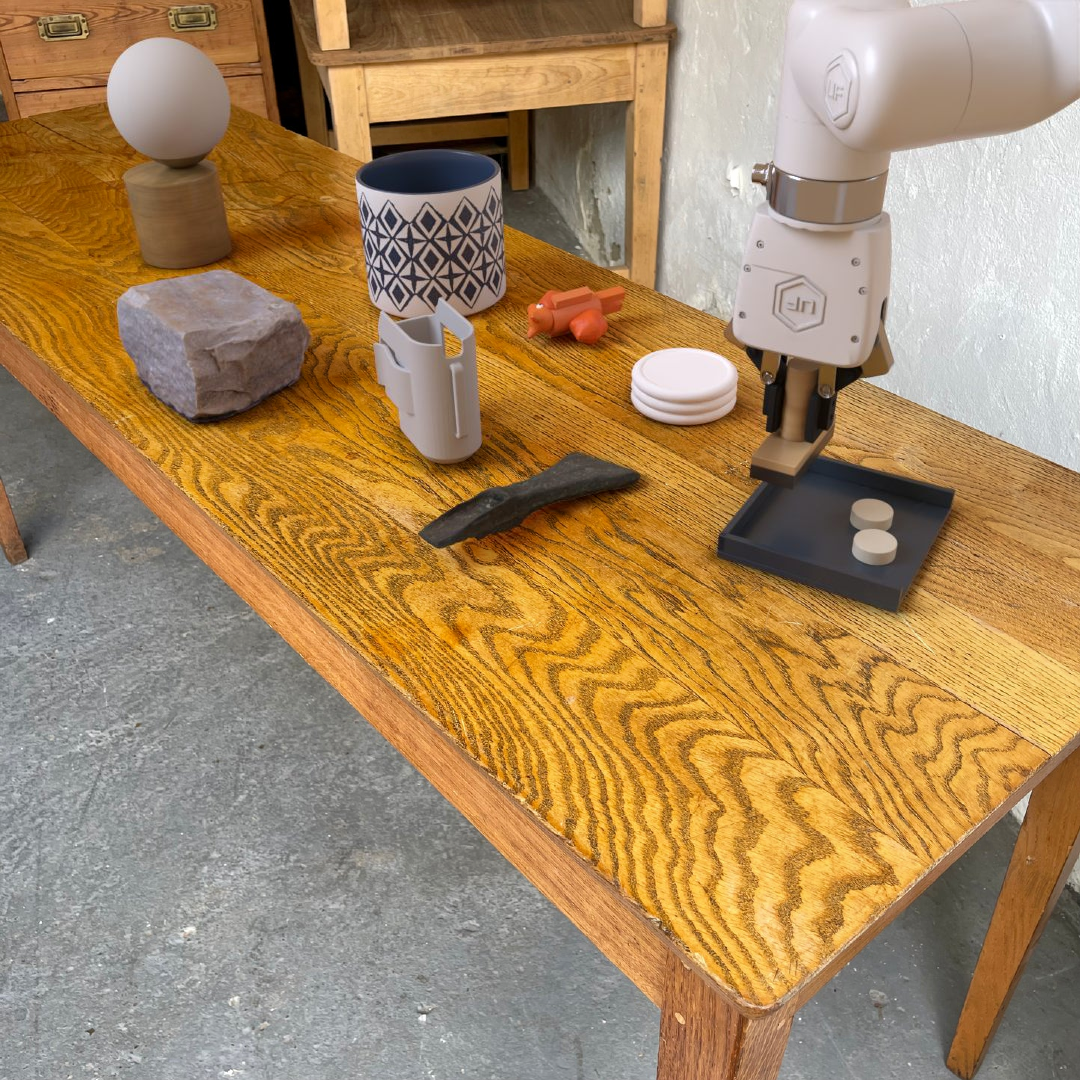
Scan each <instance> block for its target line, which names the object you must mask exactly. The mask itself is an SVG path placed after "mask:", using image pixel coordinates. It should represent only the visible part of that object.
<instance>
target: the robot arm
mask: <svg viewBox="0 0 1080 1080" xmlns="http://www.w3.org/2000/svg"><path fill="white" fill-rule="evenodd" d="M783 43H784V44H783V54H782V62H781V63H782V64H781V75H780V84H779V94H778V105H777V116H776V124H775V125H776V127H775V136H774V145H773V146H774V147H773V157H772V160H771V161H770V162H766V163H765V164H763V163H757V162H756V163H755V164H754V166H753V167H752V171H751V175H750V177H751V178H750V179H751V183H752V184H756V185H760V186H761V187H763V188H765V191H766V195H765V200H764V201H763V202H761V203H760V204H758V205H757V206H756V208H755V210H754V213H753V216H752V219H751V223H750V226H749V230H748V234H747V238H746V243H745V245H744V251H743V255H742V260H741V264H740V270H739V274H738V281H737V287H736V292H735V299H734V305H733V314H732V318H731V319H730V320H729V322H728V324H727V325H726V327H725V329H724V330H723V337H724V338H725V339H726V340H727V341H729V342H730V343H731V344H733V345H734V346H735V347H737V348H738V349H739V350H741V351H744V352H745V354H746V356H747V357H748V358H749V360H750V361H751V362H752V364H753V366H755V368H756V369H757V371H758V372H759V379H760V381H761V382H762V383H763V384H764V392H763V401H762V409H761V411H762V413H761V414H762V415H763V416H766V421H765V422H766V423H765V432H767V433H769V434H770V433H773V432H776V431H777V430H778V429H779V428H780V423H781V415H782V407H783V398H784V390H785V381H786V373H787V365H788V361H789V360H790V358H798V359H803V360H807V361H811V362H816V363H820V371H819V382H818V384H817V386H816V390H815V391H814V392H813V393H812V395H811V396H810V399H809V405H808V412H807V420H806V427H805V435H804V440H806V442H808V443H812V444H813V443H814V442H815V441H816V439H817V438H818V437H819V436H820V434H821V433H822V432H823V430H825V431H828V430H829V429H830V428H831V426H832V423H833V420H834V414H835V415H836V407H837V401H838V394H839V392H840V391H841V390H843V389H845V388H846V387H849V386H850V385H851V384H853V383H855V382H856V381H857V380H859V379H869V378H875V377H880V376H885V375H887V374H889V372H890V371H891V370H892V368H893V367H894V366H895V359H894V355H893V352H892V349H891V345H890V342H889V339H888V335H887V332H886V324H887V317H888V310H889V303H890V290H891V280H892V279H891V278H892V257H893V256H892V248H893V247H892V240H893V239H892V238H893V237H892V223H891V222H892V221H891V215H890V213H889V212H887V211H884V210H883V208H884V201H885V196H886V188H887V183H888V176H889V170H890V165H891V159H892V153H896V152H903V151H904V152H905V151H909V150H910V151H911V150H917V149H922V148H923V149H924V148H929V147H934V146H937V145H942V144H948V143H955V142H961V141H962V142H963V141H969V140H974V139H975V140H976V139H983V138H990V137H997V136H1004V135H1008V134H1012V133H1016V132H1019V131H1023V130H1026V129H1029V128H1030V127H1033V126H1034V125H1037V124H1039V123H1041V122H1043V121H1045V120H1047V119H1049V118H1051V117H1053V116H1054V115H1056V114H1057V113H1059V112H1061V111H1063V110H1064V109H1066V108H1068V107H1069V106H1070V105H1072V104H1073V103H1075V102H1076V101H1078V100H1080V0H962V1H950V2H941V3H933V4H928V5H924V6H914V7H912V5H911V3H910V1H909V0H793V1H792V3H791V5H790V8H789V10H788V13H787V18H786V24H785V33H784V41H783Z"/></svg>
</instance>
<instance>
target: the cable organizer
mask: <svg viewBox="0 0 1080 1080" xmlns="http://www.w3.org/2000/svg"><path fill="white" fill-rule="evenodd" d="M378 318H379V319H378V324H377V332H378V340H379V342H374V343H373V345H372V346H373V351H374V353H373V354H374V360H375V362H374V363H375V369H376V376H377V384H378V385H380V386H384V388H385V390H384V391H385V395H386V396H387V398H388V399H389V400H390V401H391V402H392V403H393V404H394V406H395V407H396V408H397V409H398V418H399V427H400V430H401V432H402V433H403V434H404V435H405V436H406V437H407V439H408V440H409V441H410V442H411V443H412V445H413V446H414V447H415V449H417V450H418V452H420V453H421V455H422V456H423V457H424V458H426V459H427V460H428V461H430V462H433V463H437V464H443V465H449V464H457V463H460V462H464V461H465V460H468V459H469V458H470V457H472V456H473V455H474V454H475V453H476V452H477V451H478V450H479V449H480V448H481V445H482V442H483V439H482V438H483V437H482V421H481V407H480V392H479V375H478V364H477V363H478V362H477V349H476V348H477V346H476V334H475V333H476V332H475V327H474V325H473V324H472V322H470V321H469V320H468V319H467V318H466V317H465V316H464V317H463V316H462V315H461V314H460V313H459V312H457V311H456V310H455V309H454V308H453V307H452V306H451V305H449V304H448V303H447V302H446V301H445V300H444V299H443V298H439V300H438V304H437V308H436V312H435V314H433V315H423V316H419V317H414V318H410V319H406V318H405V319H402V320H398V321H397V320H396V321H395V320H393V319H392V317H390V316H389V315H388V313H386V312H384V311H382V310H380V313H379V317H378ZM445 328H446V329H447V330H448V331H449V332H451V333H452V335H454V336H455V337H456V338H457V339H458V340H459V341H461V351H460V353H459V354H457V355H454V356H448V357H447V352H446V351H447V350H446V339H445V338H446V337H445Z"/></svg>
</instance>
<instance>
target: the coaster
mask: <svg viewBox="0 0 1080 1080" xmlns="http://www.w3.org/2000/svg"><path fill="white" fill-rule="evenodd" d="M630 375H631V383H630V384H631V385H630V388H631V391H630V399H631V402H632V405H633V406H634V407H635V409H636V410H637V411H638V412H639V413H641V414H642V415H644V416H645V417H647V418H649V419H651V420H654V421H657V422H660V423H664V424H667V425H668V424H669V425H677V426H695V425H704V424H707V423H710V422H711V423H712V422H714V421H717V420H719V419H721V418H723V417H725V416H727V414H729V413H730V412H732V411H733V409H734V407H735V405H736V402H737V392H738V381H739V373H738V370H737V368H736V366H735V365H734V364H733V362H731V360H729V359H727V358H726V357H725V356H723V355H721V354H718V353H717V352H713V351H710V350H707V349H703V348H700V349H699V348H694V347H673V348H672V347H671V348H665V349H660V350H656V351H653V352H650V353H648V354H646V355H644V356H643V357H641V358H640V359H638V360H637V361H636V362H635V363H634V364H633V367H632V369H631V374H630Z"/></svg>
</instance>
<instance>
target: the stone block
mask: <svg viewBox="0 0 1080 1080" xmlns="http://www.w3.org/2000/svg"><path fill="white" fill-rule="evenodd" d="M116 315H117V321H118V322H117V323H118V334H119V337H120V341H121V345H122V347H123V348H124V350H125V352H126V354H127V355H128V357H129V358H130V360H131V361H132V362H133V364H134V366H135V369H136V374H137V378H138V379H139V380H140V381H139V383H141V385H143V386H146V387H147V388H148V392H149V393H150V394H151V395H152V396H154V397H155V398H156V399H157V401H159V402H161V403H163V404H165V406H167V407H168V408H171V409H172V410H173V411H174V412H175V413H177V414H178V415H180V416H182V417H184V418H185V419H187V420H189V421H190V422H192V423H194V424H196V425H197V424H199V423H209V422H218V421H221V420H222V421H223V420H226V419H228V418H230V417H233V416H235V415H236V414H241V413H243V412H246V411H249V410H250V409H252V408H253V407H255V406H258V405H259V404H260V403H261V402H262V401H263V400H265V399H267V398H269V397H270V395H273V394H275V393H277V392H280V391H282V389H284V388H286V387H289V388H290V387H291V386H292V385H293V384H295V383H296V382H297V381H299V379H300V377H301V376H300V374H301V368H302V366H303V364H304V362H305V352H306V351H307V350H308V348H309V346H310V345H311V341H312V334H311V332H310V330H311V329H310V328H309V327H308V325H307V324H306V322H304V321H303V315H302V310H300V309H299V308H298V307H297V305H296V304H295V303H293V302H290V301H287V300H285V299H284V298H283V297H279V296H277V295H274V294H272V293H271V292H270V291H269V290H267V289H265V288H263V287H262V286H259V285H258V284H256V283H254V282H252V281H251V280H248V279H247V278H244V277H243V276H241V275H239V274H237V273H235V272H233V271H231V270H229V269H214V270H210V271H209V270H208V271H206V272H201V273H195V274H190V275H187V276H179V277H173V278H165V279H161V280H154V281H151V282H149V283H144V284H138V285H132V286H130V287H129V288H128V290H127V291H125V292H124V293H122V294H121V296H120V297H118V298H117V302H116Z"/></svg>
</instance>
